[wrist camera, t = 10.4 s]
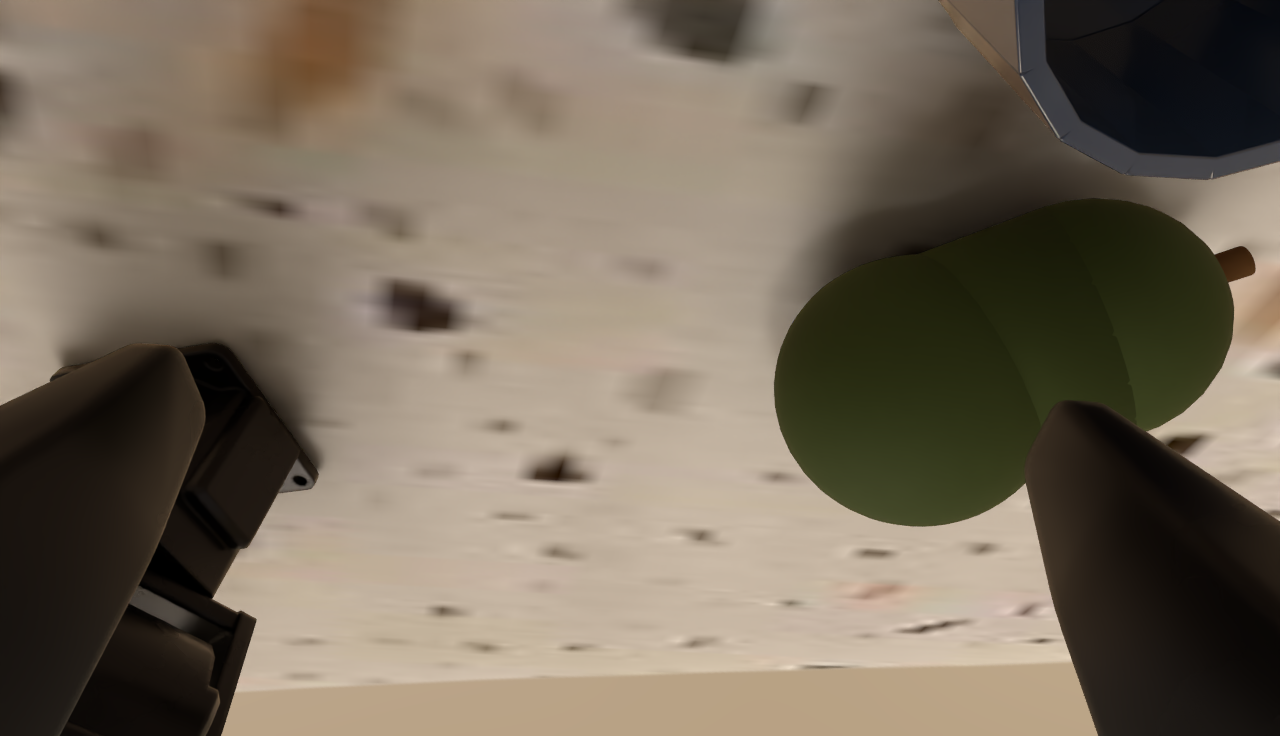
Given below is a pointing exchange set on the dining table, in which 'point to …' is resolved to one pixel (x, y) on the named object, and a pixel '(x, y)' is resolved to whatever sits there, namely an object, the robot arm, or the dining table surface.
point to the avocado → (998, 353)
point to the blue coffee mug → (1142, 77)
